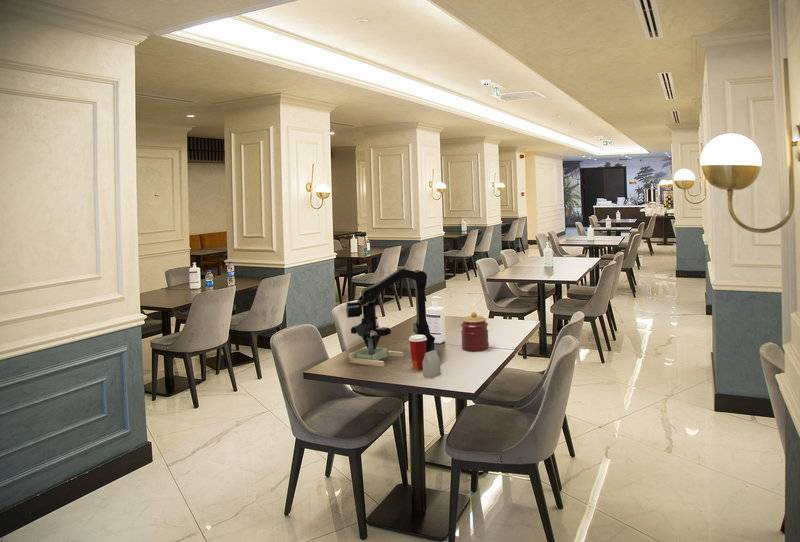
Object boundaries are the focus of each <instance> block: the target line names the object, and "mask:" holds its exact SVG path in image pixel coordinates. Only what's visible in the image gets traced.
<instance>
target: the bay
mask: <svg viewBox="0 0 800 542" xmlns="http://www.w3.org/2000/svg"><path fill="white" fill-rule="evenodd" d="M366 349H367V346H365V347H362V348H360V349H358V350H355V351H353V352H351V353H350V352H349V353H348V362H349V363H350V364H359V365H367V366H376V367H384V366H385V361H384V360H379V361H377V360H368V359H360V358H356V354H357V353H359V352H361V351H364V350H366ZM404 353H405V352H404V351H397V350H388V356H387V357H389V356H391V357H399V358H403V357H404V355H405V354H404Z"/></svg>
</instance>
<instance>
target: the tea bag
mask: <svg viewBox="0 0 800 542" xmlns="http://www.w3.org/2000/svg"><path fill="white" fill-rule="evenodd" d="M422 363H423V370H422V377H423V376H424V377H423V378H427V377H429V378H428V379H431V378H434V377H436V375H437V376H439V375H441V371H442V370H441V359H440V357H439V354H438V352H437V349H435V350H433V351H430V352H427V353H425V356H424V359H423V362H422ZM433 376H434V377H433Z"/></svg>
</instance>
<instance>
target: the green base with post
mask: <svg viewBox="0 0 800 542" xmlns="http://www.w3.org/2000/svg"><path fill="white" fill-rule="evenodd" d="M371 336H372V335H370V336H367V340H368V349H366V350H364V351H361V352H359V353H357V354H356V358H360V359H368V360H377V361H382V360H383V359H384V358H385V359H386V357H389V356H388V351H389V349H388V348H384V347H376V349H374V347H373V338H372V337H371Z"/></svg>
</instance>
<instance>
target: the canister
mask: <svg viewBox="0 0 800 542" xmlns="http://www.w3.org/2000/svg"><path fill="white" fill-rule="evenodd" d="M486 320H487V318H485V317H484V316H482V315H479V314H477V312H475V311H474V312H471V315H468V316H465V317H464V318H462V320H461V321H462V323H461V324H460V327H461V331H460V333H461V347H462V348H461V349H462V350H463V351H465V352H483V351H486V350H488V349H489V347H490V341H489V330H488V325H489V323H488V322H487V321H486Z"/></svg>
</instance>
